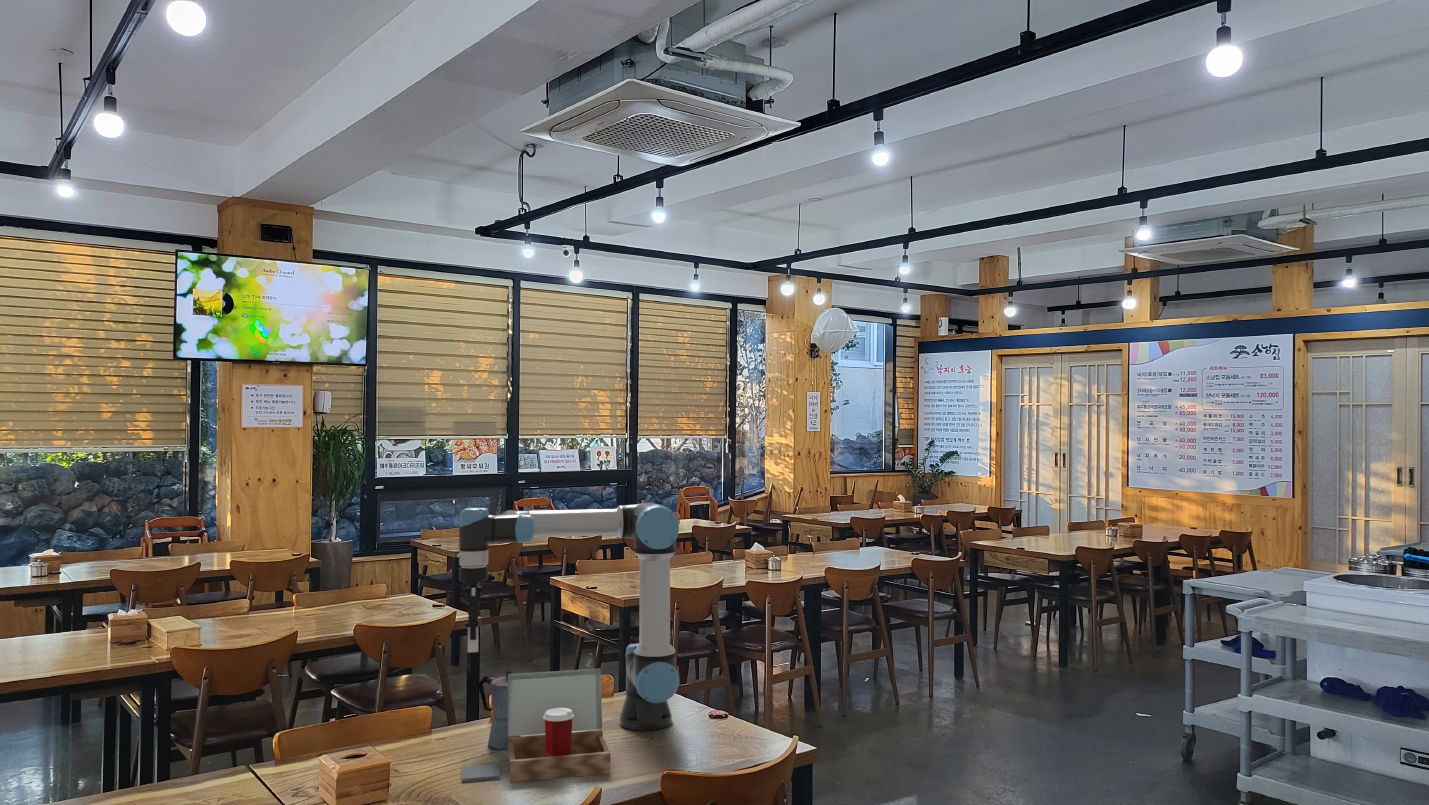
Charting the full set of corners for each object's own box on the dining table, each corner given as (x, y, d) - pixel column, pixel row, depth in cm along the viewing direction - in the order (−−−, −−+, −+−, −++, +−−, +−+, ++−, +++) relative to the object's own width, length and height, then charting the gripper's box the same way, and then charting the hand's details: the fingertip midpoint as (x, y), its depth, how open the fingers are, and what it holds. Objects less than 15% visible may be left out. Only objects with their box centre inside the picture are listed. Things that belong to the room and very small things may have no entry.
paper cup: (579, 763, 236) (579, 708, 237) (564, 774, 229) (564, 717, 230) (551, 760, 239) (552, 705, 239) (536, 770, 232) (537, 714, 232)
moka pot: (522, 752, 245) (523, 676, 246) (468, 748, 248) (469, 673, 249) (536, 741, 254) (537, 667, 255) (484, 737, 257) (485, 665, 258)
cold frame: (602, 752, 244) (602, 730, 245) (610, 773, 230) (610, 749, 230) (507, 761, 238) (508, 737, 239) (510, 782, 223) (510, 757, 224)
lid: (602, 728, 245) (601, 728, 246) (600, 668, 248) (600, 668, 249) (508, 736, 239) (507, 736, 240) (508, 674, 242) (507, 674, 243)
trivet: (499, 766, 235) (499, 763, 235) (499, 778, 226) (500, 775, 226) (462, 769, 232) (462, 766, 232) (461, 782, 224) (461, 779, 224)
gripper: (459, 560, 258) (459, 637, 257) (458, 573, 234) (457, 657, 233) (487, 559, 260) (486, 635, 259) (488, 572, 236) (488, 656, 235)
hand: (472, 646), depth 246 cm, fingers open, 13 cm apart
